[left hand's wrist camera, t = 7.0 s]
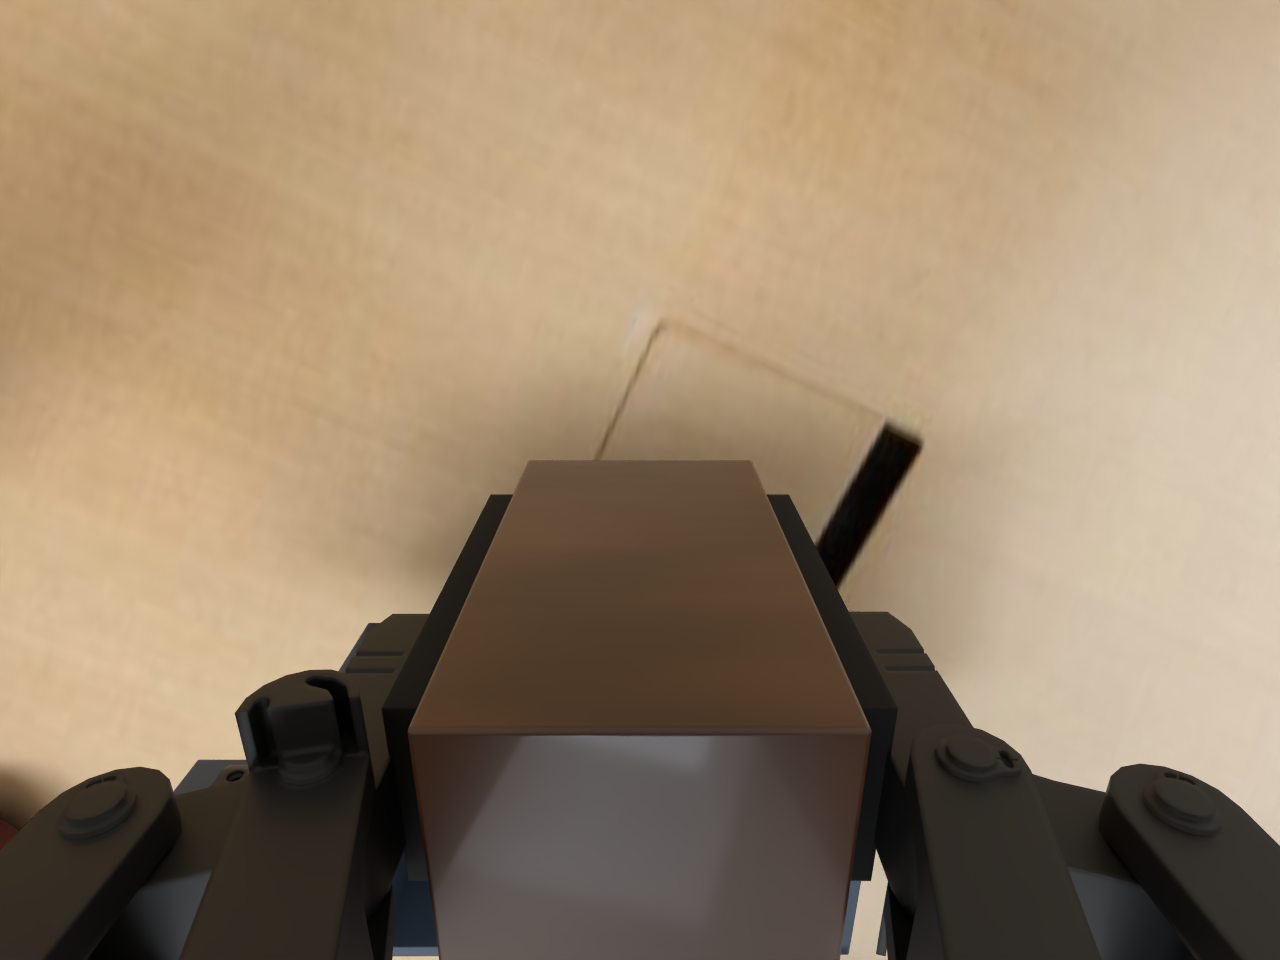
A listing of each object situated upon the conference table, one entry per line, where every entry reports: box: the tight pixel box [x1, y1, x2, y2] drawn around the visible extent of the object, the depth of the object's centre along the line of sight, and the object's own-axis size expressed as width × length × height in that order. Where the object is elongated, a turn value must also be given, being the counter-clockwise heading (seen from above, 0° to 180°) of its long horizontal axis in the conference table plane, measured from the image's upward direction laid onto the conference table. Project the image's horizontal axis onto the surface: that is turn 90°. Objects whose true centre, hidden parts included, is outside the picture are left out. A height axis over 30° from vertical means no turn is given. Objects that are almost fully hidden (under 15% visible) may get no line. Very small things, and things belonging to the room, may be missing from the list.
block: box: [407, 461, 872, 960], centre depth 11 cm, size 4×4×8 cm
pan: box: [174, 623, 861, 956], centre depth 30 cm, size 29×14×7 cm, turn 89°
